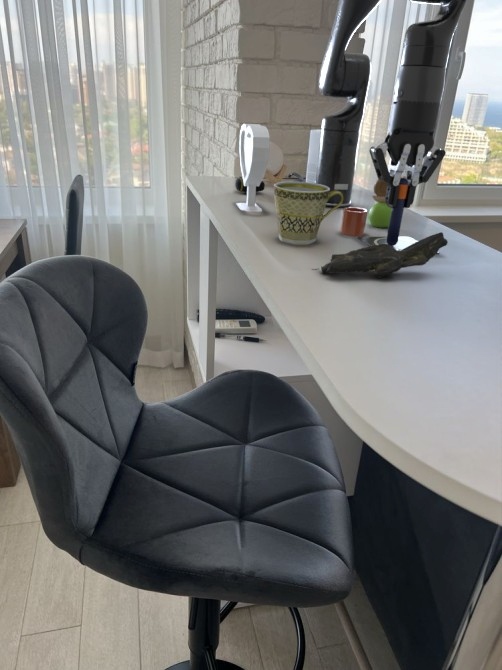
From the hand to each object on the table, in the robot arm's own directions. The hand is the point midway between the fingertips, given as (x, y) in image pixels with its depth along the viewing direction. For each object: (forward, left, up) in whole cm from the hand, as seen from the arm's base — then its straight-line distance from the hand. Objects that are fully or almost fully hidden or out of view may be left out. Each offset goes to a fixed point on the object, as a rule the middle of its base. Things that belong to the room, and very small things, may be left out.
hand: (397, 206), depth 89 cm
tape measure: (-53, -14, -8) cm, 56 cm away
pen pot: (-10, -3, -8) cm, 13 cm away
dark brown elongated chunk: (+13, -8, -8) cm, 17 cm away
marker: (0, 0, -7) cm, 7 cm away
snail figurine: (-15, +6, -8) cm, 18 cm away
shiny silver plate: (-1, +2, -8) cm, 8 cm away
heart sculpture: (-33, -19, -8) cm, 39 cm away
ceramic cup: (-6, -14, -8) cm, 18 cm away
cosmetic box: (-62, +10, -8) cm, 63 cm away
